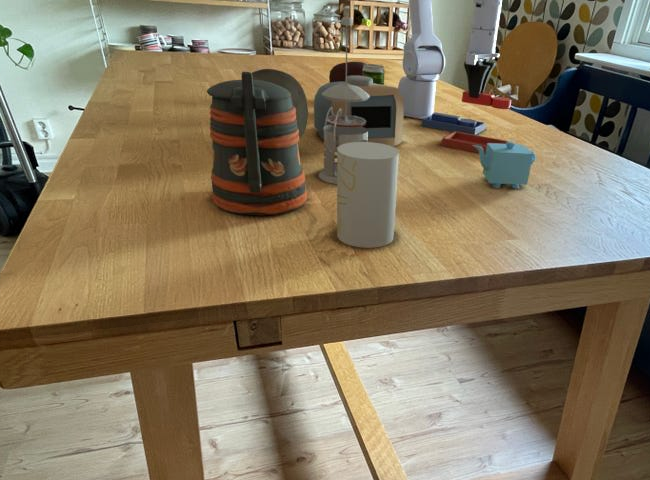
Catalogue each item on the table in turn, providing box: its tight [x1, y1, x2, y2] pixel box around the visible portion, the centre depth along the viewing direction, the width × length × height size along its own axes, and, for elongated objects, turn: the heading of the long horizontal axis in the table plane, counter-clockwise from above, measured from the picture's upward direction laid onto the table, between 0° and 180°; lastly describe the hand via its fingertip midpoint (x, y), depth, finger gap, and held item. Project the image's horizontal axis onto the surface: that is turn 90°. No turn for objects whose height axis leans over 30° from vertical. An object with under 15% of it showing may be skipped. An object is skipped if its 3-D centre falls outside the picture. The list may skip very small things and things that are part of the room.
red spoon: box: [461, 90, 512, 110], centre depth 128 cm, size 11×4×2 cm, turn 65°
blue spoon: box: [432, 111, 478, 128], centre depth 137 cm, size 11×4×2 cm, turn 64°
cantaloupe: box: [251, 68, 309, 141], centre depth 105 cm, size 14×14×15 cm
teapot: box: [472, 140, 536, 189], centre depth 101 cm, size 12×6×8 cm, turn 94°
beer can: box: [362, 63, 385, 85], centre depth 136 cm, size 5×5×12 cm
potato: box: [328, 61, 366, 83], centre depth 151 cm, size 11×13×10 cm
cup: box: [336, 142, 400, 249], centre depth 76 cm, size 8×8×12 cm
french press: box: [318, 16, 370, 185], centre depth 93 cm, size 10×12×25 cm
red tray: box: [441, 131, 508, 155], centre depth 124 cm, size 14×8×2 cm, turn 64°
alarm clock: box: [313, 75, 404, 148], centre depth 121 cm, size 19×20×12 cm
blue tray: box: [421, 115, 487, 135], centre depth 137 cm, size 14×8×2 cm, turn 64°
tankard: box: [206, 71, 308, 217], centre depth 80 cm, size 19×15×20 cm
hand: (475, 96), depth 128 cm, fingers closed on red spoon, 2 cm apart
